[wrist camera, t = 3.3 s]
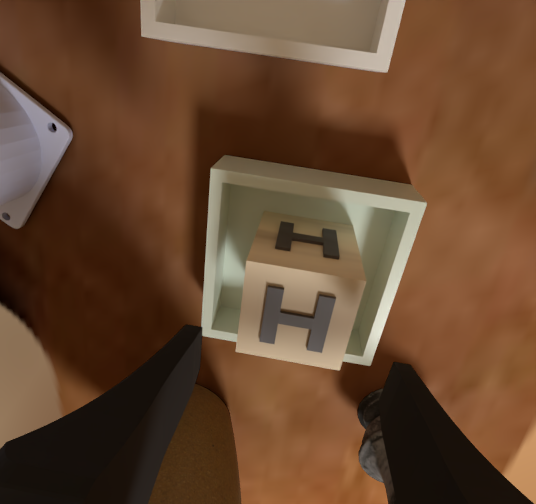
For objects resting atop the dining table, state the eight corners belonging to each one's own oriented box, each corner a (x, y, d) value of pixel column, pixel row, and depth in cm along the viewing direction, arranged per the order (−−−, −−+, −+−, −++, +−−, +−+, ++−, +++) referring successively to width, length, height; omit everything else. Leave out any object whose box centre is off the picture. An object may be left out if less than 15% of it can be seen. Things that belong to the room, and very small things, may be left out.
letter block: (333, 299, 23) (339, 373, 17) (254, 285, 23) (235, 354, 17) (353, 222, 20) (367, 280, 15) (264, 208, 20) (246, 258, 15)
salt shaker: (358, 380, 26) (388, 595, 15) (444, 387, 26) (537, 616, 15) (349, 435, 29) (370, 652, 18) (427, 443, 28) (496, 672, 17)
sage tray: (213, 306, 25) (200, 335, 22) (224, 154, 20) (210, 168, 17) (364, 333, 24) (370, 366, 22) (411, 184, 20) (427, 202, 17)
